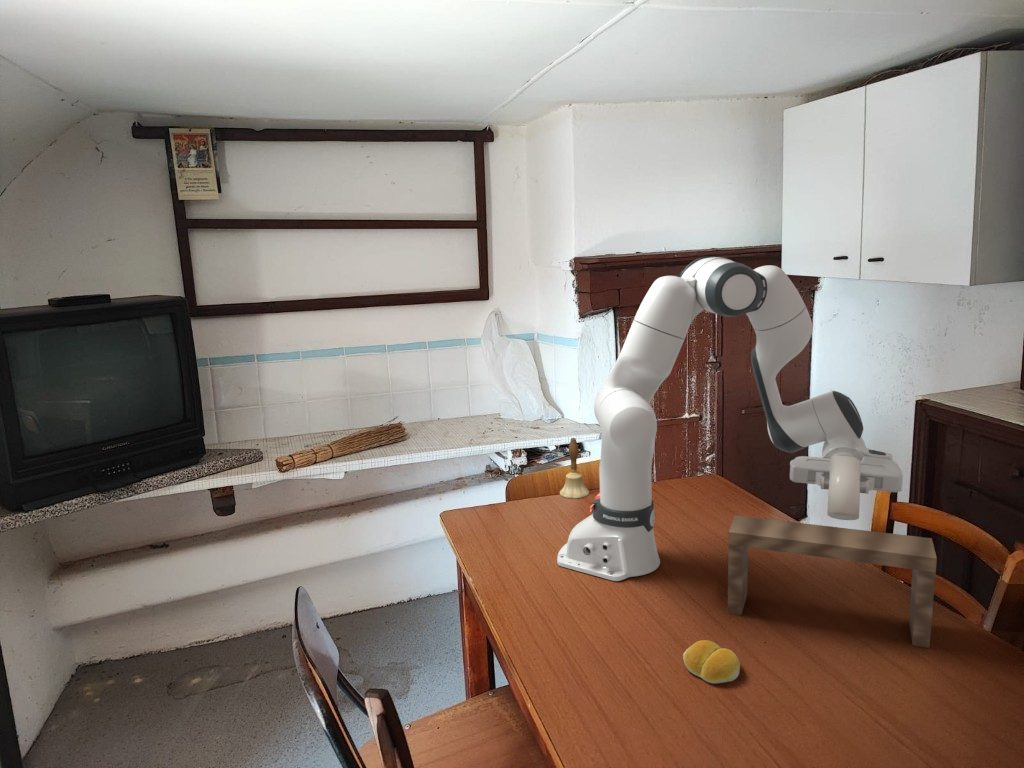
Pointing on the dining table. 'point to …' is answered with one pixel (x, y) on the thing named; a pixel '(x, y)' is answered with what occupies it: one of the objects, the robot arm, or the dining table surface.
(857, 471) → the white cylinder
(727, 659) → the bread roll
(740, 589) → the arch
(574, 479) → the hand bell
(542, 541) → the dining table surface
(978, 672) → the dining table surface
